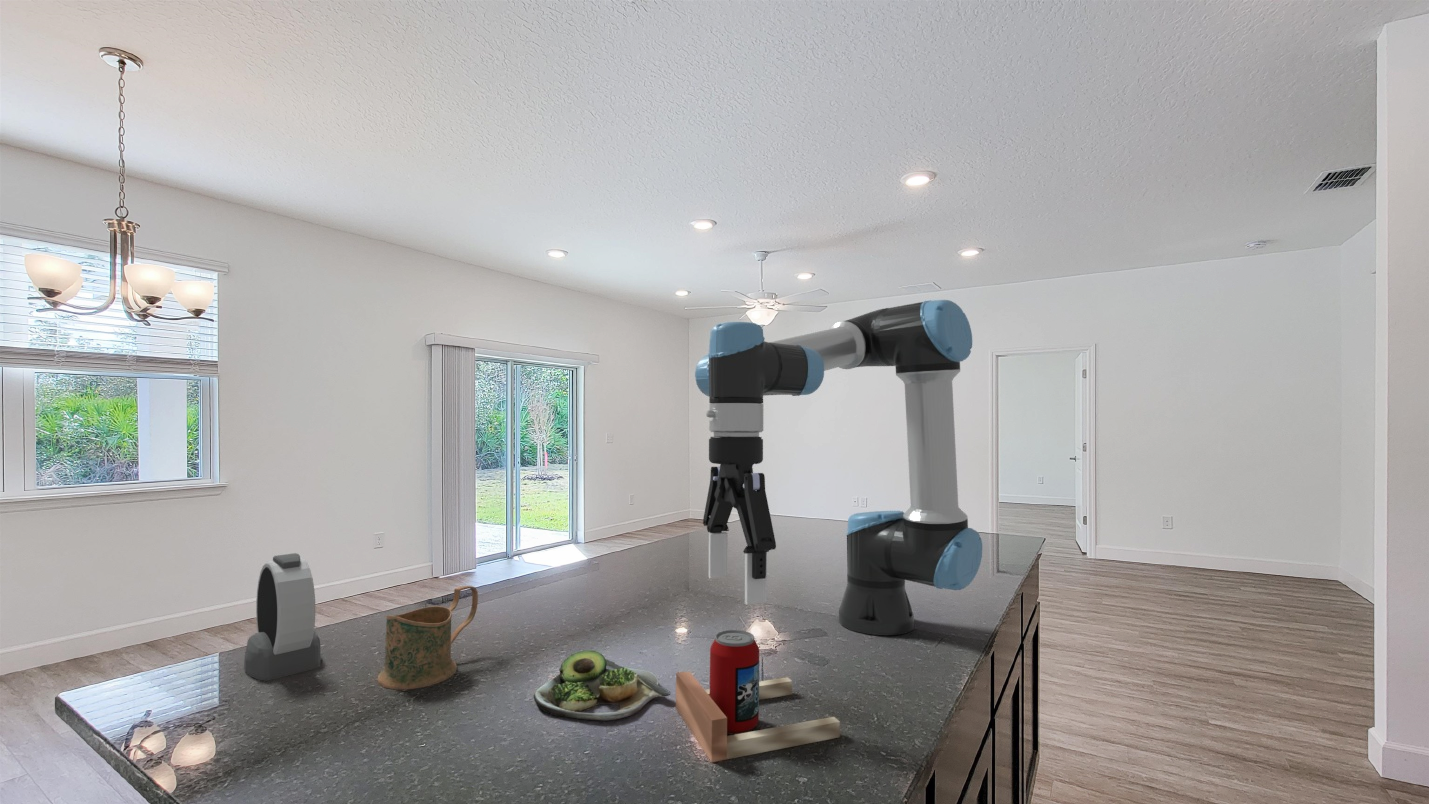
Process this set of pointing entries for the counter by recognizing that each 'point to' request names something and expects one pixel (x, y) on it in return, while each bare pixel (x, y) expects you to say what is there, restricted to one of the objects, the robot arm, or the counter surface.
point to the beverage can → (735, 679)
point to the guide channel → (718, 746)
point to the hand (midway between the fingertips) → (735, 589)
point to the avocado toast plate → (597, 688)
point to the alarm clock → (283, 621)
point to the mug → (422, 645)
